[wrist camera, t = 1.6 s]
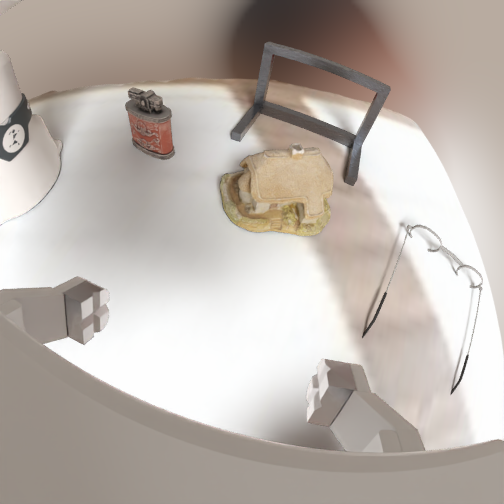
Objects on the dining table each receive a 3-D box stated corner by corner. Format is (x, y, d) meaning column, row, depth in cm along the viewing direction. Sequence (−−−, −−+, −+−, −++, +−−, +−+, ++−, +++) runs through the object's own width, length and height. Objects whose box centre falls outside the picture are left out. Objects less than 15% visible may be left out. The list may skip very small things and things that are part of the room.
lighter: (179, 150, 38) (176, 93, 29) (164, 163, 36) (157, 105, 27) (143, 133, 39) (135, 81, 30) (128, 144, 37) (117, 91, 29)
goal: (230, 138, 40) (240, 60, 28) (255, 107, 45) (268, 41, 33) (353, 186, 39) (394, 117, 27) (359, 146, 44) (390, 86, 32)
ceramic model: (309, 169, 40) (330, 117, 31) (338, 233, 35) (374, 183, 26) (215, 177, 36) (218, 117, 27) (232, 249, 32) (241, 194, 23)
